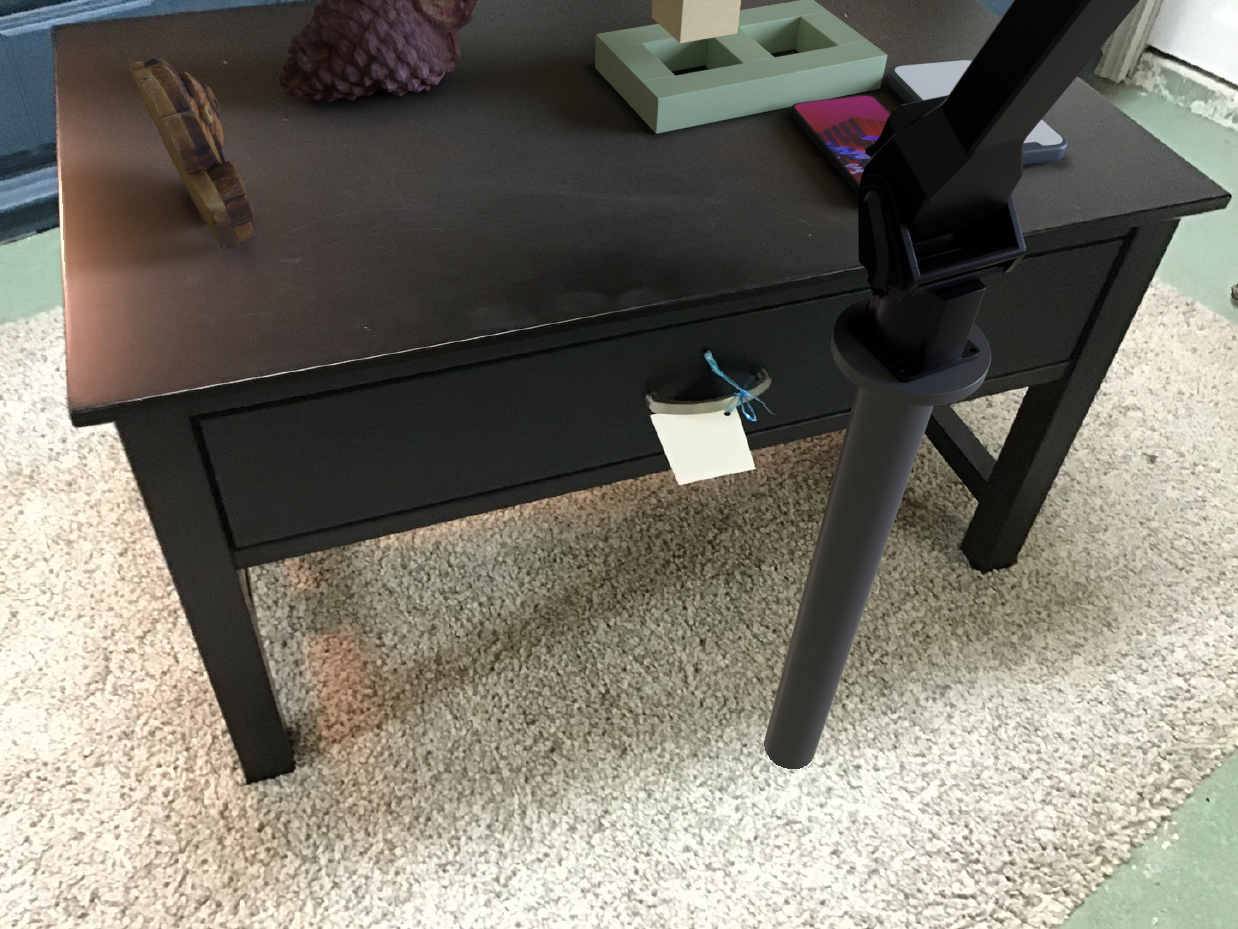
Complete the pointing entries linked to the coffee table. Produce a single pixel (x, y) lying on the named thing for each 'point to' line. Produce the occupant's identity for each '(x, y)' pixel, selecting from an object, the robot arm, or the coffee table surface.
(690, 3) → the cream rectangular block
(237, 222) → the wooden carving
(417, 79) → the pine cone
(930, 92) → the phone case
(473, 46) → the coffee table surface
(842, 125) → the smartphone
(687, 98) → the block
